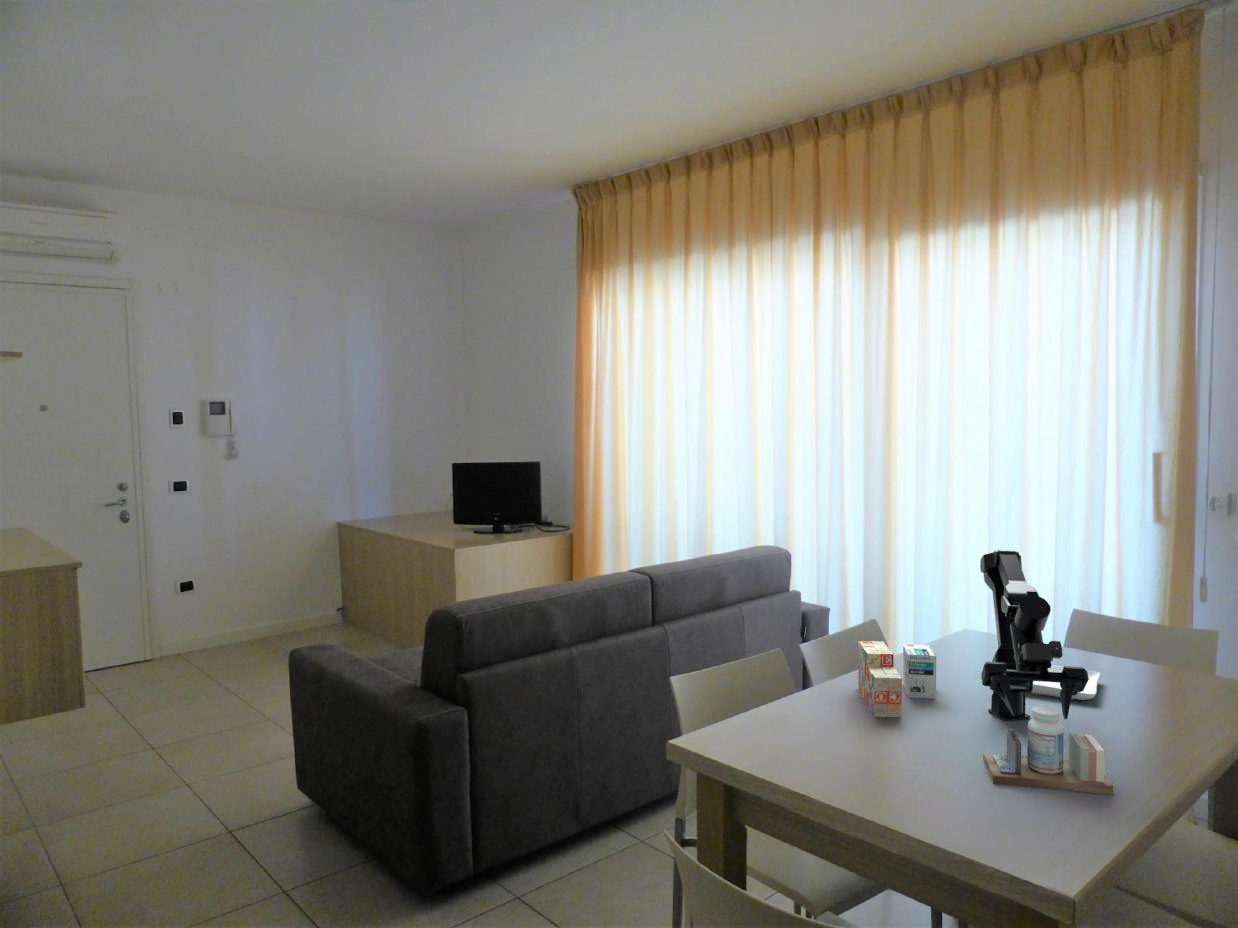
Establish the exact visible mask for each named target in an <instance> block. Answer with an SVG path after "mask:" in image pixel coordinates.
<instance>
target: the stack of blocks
mask: <svg viewBox="0 0 1238 928" xmlns="http://www.w3.org/2000/svg"><path fill="white" fill-rule="evenodd" d="M857 644H858V645H857V646H858V647H857V649H858V653H857V655H858V658H857V659H858V660H857V661H858V677H857V678H858V679H857V682H858V683H857V684H858V685H857V686H858V690H859V689H860V690H859V692H860V691H861V692H860V694H861V693H862V694H861V696H862V697H864V698H863V699H864V701H865V702H866V704H867V706H868V707H869V708H868V709H869V710H870V712H871V714H872V715H873V717H876V718H877V717H879V718H884V717H885V718H902V694H903V693H902V692H903V677H902V675H900V673H899V672H898V670H897V669H896V668H895V667H894V665H895V663H894V653H893V651H891V650H890V649H889V647H888V646H887V645H886V643H885V641H883V640H882V641H879V640H878V641H875V640H874V641H873V640H871V641H869V640H866V641H865V640H859V641H858V642H857Z"/></svg>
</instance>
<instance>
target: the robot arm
mask: <svg viewBox="0 0 1238 928" xmlns="http://www.w3.org/2000/svg"><path fill="white" fill-rule="evenodd" d="M979 562H980V563H979V567H980V573H983V581H984V583H985V584H986V586H987V587H988V588H989V589H990V590H991V592H992V597H993V598H992V600H993V607H994V608H993V609H994V617H995V618H994V619H995V627H996V638H997V639H996V640H997V646H998V647H997V650H996V651H995V653H994V656H993V658H992V660H991V661H985V662H984V664H983V667H982V671H981V684H982V686H983V687H988V688H989V689H990V691H992V694H991V698H990V699H991V708H989V709H987V712H988V713H990V714H993V715H994V716H996V717H998V718H1001V719H1002V720H1003V721H1016V720H1017V721H1018V720H1025V719H1026V720H1027V719H1031V715H1030V714H1027V713H1026V700H1027V698H1026V697H1027V696H1026V693H1027V692H1029V693H1028V694H1032V693H1031V691H1032V690H1033V681H1042V682H1059V683H1060V687H1061V688H1062V689H1061V691H1060V696H1061V698H1060V704H1061V710H1062V716H1063V719H1064V720H1067V719H1068V716H1069V712H1070V706H1071V701H1072V699H1071V697H1072V695H1077V693H1078V692H1082V691H1084V688H1085V686H1086V684H1087V682H1088V680H1089V677H1088V672H1087V671H1086V670H1087V669H1085V668H1084V667H1083V666H1071V665H1070V666H1067V665H1064V666H1063V667H1064V668H1063V670H1062V672H1061V673H1059V672H1048V668H1051V665H1052V662H1053V661H1054V660H1053V659H1061V658H1063V647H1062V642H1061V641H1060V640H1059V641H1058V640H1050V641H1049V642H1048V643H1044V639H1043V633H1042V632H1043V631H1044V630H1045V628H1046V625H1047V621H1048V619H1049V616H1050V613H1051V611H1052V610H1051V605H1050V604H1049V602H1048V601H1047V600H1046V599H1045V598H1043V597H1041V596H1040V595H1039V593H1038V591H1037V589H1036V587H1034V586H1032V585H1030V584H1028V582H1027V580H1026V577H1025V574H1024V571H1023V566H1022V563H1023V562H1022V555H1020V551H1018V550H1016V549H997V550H994V551H993V552H990V553H985V554H983V555H982V556H981V558H980V561H979Z"/></svg>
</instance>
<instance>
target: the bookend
mask: <svg viewBox="0 0 1238 928" xmlns="http://www.w3.org/2000/svg"><path fill="white" fill-rule="evenodd" d="M1006 755H1007V756H998V755H993V758H994V760H995V762H996V764H997V767H998V769H999V771H1000V773H1005V774H1016V775H1021V756H1022V741H1021V740H1020V738H1019V737H1018V735H1017V733H1016V731H1015V730H1014V728H1013V727H1007V728H1006Z"/></svg>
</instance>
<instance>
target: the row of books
mask: <svg viewBox="0 0 1238 928" xmlns="http://www.w3.org/2000/svg"><path fill="white" fill-rule="evenodd" d="M1105 752H1106V750H1104V748H1103V747H1102V746H1101V744H1100V743H1099V742H1098V741H1097V740H1096V738H1095V737H1094V736H1093V734H1083V735H1079V734H1078V733H1077V732H1073V731H1069V733H1068V760H1069V764H1070V766H1071V767H1072V769H1073V770H1074V772H1075V773H1076V775H1077V776H1078V777H1079V779H1080V780H1084V781H1096V782H1104V775H1105V761H1106V760H1105V758H1106V757H1105V756H1106V755H1105Z"/></svg>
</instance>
